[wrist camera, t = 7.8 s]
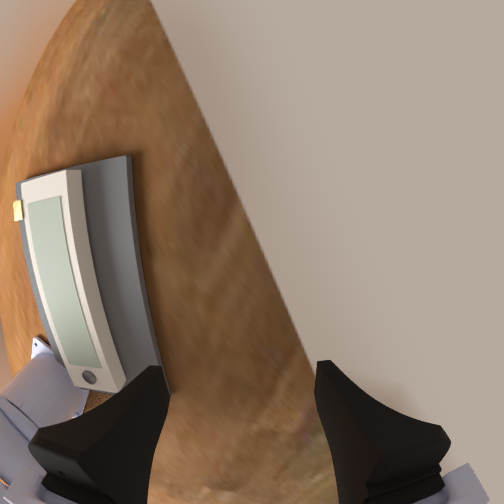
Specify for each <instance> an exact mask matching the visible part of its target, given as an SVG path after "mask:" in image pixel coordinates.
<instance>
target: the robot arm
mask: <svg viewBox="0 0 504 504" xmlns="http://www.w3.org/2000/svg"><path fill="white" fill-rule="evenodd" d="M88 395H89V390H84V389H80V387H77V386H74V384H73V382H72V380H71V377H70V375H69V373H68V371H67V369H66V368H65V367H63V366H62V365H61V364H60V363H59V362H57V361H56V358H55V356H54V353H53V351H52V348H51V347H50V346H49V345H47V344H46V343H45V342H44V341H43V340H41V339H40V338H39V337H37V336H35V337H34V338H33V346H32V356H31V360H30V361H29V362H28V363H27V364H26V365H25V366H24V367H23V368H22V369H21V370H20V371H19V372H18V373H17V375H16V376H15V377H14V378H13V379H12V380H11V381H10V382H9V383H8V384H7V385H6V386H5V387H4V388H3V389H2V390H1V391H0V478H1V479H2V480H3V481H4V482H5V483H6V484H8V485H9V486H10V487H9V486H6V485H4V484H2V483H1V482H0V504H147V498H148V487H149V479H150V473H151V467H152V461H153V456H154V452H155V448H156V446H157V443H158V440H159V437H160V434H161V431H162V428H163V425H164V422H165V419H166V416H167V412H168V407H169V401H170V394H169V391H168V388H167V384H166V381H165V377H164V373H163V370H162V366H155V365H149V366H148V367H147V368H146V369H145V370H143V371H142V372H141V373H140V374H139V375H138V376H137V377H136V378H134V379H133V380H132V381H131V382H130V383H129V384H127V385H126V386H125V387H124V388H123V389H121V390H120V391H119V392H118V393H116V394H115V395H114V396H112V397H111V398H110V399H108V400H107V401H105V402H104V403H102V404H101V405H99V406H97V407H96V408H94V409H92V410H90V411H88V412H86V413H84V414H83V411H84V407H85V404H86V401H87V398H88ZM314 395H315V401H316V406H317V411H318V414H319V417H320V420H321V423H322V426H323V429H324V432H325V435H326V438H327V441H328V444H329V447H330V451H331V455H332V460H333V465H334V471H335V477H336V483H337V490H338V497H339V504H487V503H488V502H489V500H490V499H489V497H488V495H487V493H486V492H485V490H484V488H483V486H482V485H481V483H480V481H479V480H478V478H477V476H476V474H475V473H474V471H473V469H472V468H471V467H470V465H469V463H466V464H465V465H463V466H461V467H459V468H457V469H455V470H453V471H451V472H449V473H447V474H446V475H445V476H443V477H441V475H440V474H439V473H440V472H441V470H442V469H441V467H440V465H439V463H440V461H441V460H442V459H443V457H444V456H445V454H446V453H447V452H448V450H449V448H450V445H451V441H450V439H449V437H448V436H447V434H446V432H445V431H444V430H443V428H442V427H441V426H440V425H436V424H431V423H427V422H423V421H420V420H417V419H414V418H411V417H408V416H406V415H403V414H401V413H399V412H397V411H395V410H393V409H391V408H389V407H387V406H385V405H383V404H382V403H380V402H379V401H377V400H375V399H374V398H372V397H371V396H369V395H368V394H367V393H365V392H364V391H363V390H362V389H361V388H359V387H358V386H357V385H356V384H355V383H354V382H352V381H351V380H350V379H349V378H348V377H347V376H346V375H345V374H344V373H343V372H342V371H341V370H340V369H339V368H338V367H337V366H336V365H335V364H334V363H333V362H332V361H331V360H324V361H317V369H316V380H315V390H314ZM72 417H74V418H73V419H71V418H72Z"/></svg>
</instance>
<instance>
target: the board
mask: <svg viewBox="0 0 504 504" xmlns="http://www.w3.org/2000/svg"><path fill="white" fill-rule="evenodd" d="M63 170H81V177H82V190H83V200H84V209H85V217H86V224H87V231H88V238H89V244H90V249H91V255H92V260H93V265H94V270H95V275H96V279H97V284H98V288H99V292H100V297H101V301H102V304H103V308H104V312H105V316H106V319H107V323H108V326H109V330H110V333H111V336H112V339H113V343H114V346H115V349H116V352H117V355H118V358H119V361H120V363H121V366H122V369H123V372H124V374H125V377H126V381H125V383H124V385H123V387H122V389H123V388H124V387H125V386H126V385H127V384H129V383H130V382H131V381H132V380H133V379H134V378H136V377H137V376H138V375H139V374H140V373H141V372H142V371H143V370H145V369H146V368H147V367H148V366H149V365H155V366H162V370H163V373H164V377H165V381H166V384H167V388H168V391H169V394H170V396H171V392H170V389H169V385H168V382H167V378H166V375H165V371H164V367H163V363H162V359H161V356H160V352H159V347H158V343H157V339H156V335H155V330H154V326H153V321H152V316H151V311H150V306H149V301H148V296H147V290H146V285H145V279H144V273H143V267H142V260H141V253H140V246H139V238H138V230H137V221H136V212H135V201H134V189H133V174H132V156H120V157H115V158H110V159H105V160H100V161H95V162H91V163H86V164H82V165H78V166H73V167H69V168H65V169H61V170H58V171H54V172H50V173H47V174H43V175H40V176H36V177H33V178H29V179H26V180H23V181H20V182H17V183H16V194H17V201H15V202H13V207H14V217H15V221H17V220H19V223H20V231H21V237H22V243H23V249H24V254H25V259H26V264H27V269H28V273H29V278H30V282H31V286H32V290H33V293H34V297H35V301H36V304H37V307H38V311H39V314H40V317H41V320H42V323H43V326H44V329H45V332H46V335H47V338H48V340H49V343H50V346H51V348H52V351H53V353H54V356H55V358H56V361H57V362H59V363H60V364H61V365H62V366H63V367H65V368H66V366H65V364H64V362H63V359H62V357H61V354H60V352H59V349H58V347H57V344H56V342H55V339H54V336H53V334H52V331H51V328H50V325H49V322H48V319H47V316H46V313H45V310H44V307H43V303H42V300H41V296H40V293H39V289H38V285H37V282H36V278H35V273H34V269H33V265H32V260H31V255H30V250H29V245H28V239H27V233H26V227H25V220H24V212H23V203H22V192H21V183H24V182H27V181H30V180H33V179H36V178H40V177H43V176H46V175H50V174H53V173H56V172H60V171H63ZM80 389H84V390H89V391H94V392H100V393H106V394H112V395H115V394H116V393H113V392H106V391H99V390H93V389H88V388H82V387H80Z"/></svg>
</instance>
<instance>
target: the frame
mask: <svg viewBox="0 0 504 504" xmlns="http://www.w3.org/2000/svg"><path fill="white" fill-rule="evenodd" d="M21 192H22V203H23V212H24V220H25V227H26V233H27V239H28V245H29V250H30V255H31V260H32V265H33V269H34V273H35V278H36V282H37V285H38V289H39V293H40V296H41V300H42V303H43V307H44V310H45V313H46V316H47V319H48V322H49V325H50V328H51V331H52V334H53V336H54V339H55V342H56V344H57V347H58V349H59V352H60V354H61V357H62V359H63V362H64V364H65V366H66V369H67V371H68V373H69V375H70V377H71V380H72V382H73V384H74V386H77V387H82V388H88V389H93V390H99V391H106V392H113V393H118V392H119V391H120V390H121V389H122V387H123V385H124V383H125V381H126V377H125V374H124V372H123V369H122V366H121V363H120V361H119V358H118V355H117V352H116V349H115V346H114V343H113V339H112V336H111V333H110V330H109V326H108V323H107V319H106V316H105V312H104V308H103V304H102V301H101V297H100V292H99V288H98V284H97V279H96V275H95V270H94V265H93V260H92V255H91V249H90V244H89V238H88V231H87V224H86V217H85V209H84V200H83V190H82V177H81V170H63V171H60V172H56V173H53V174H50V175H46V176H43V177H40V178H36V179H33V180H30V181H27V182H24V183H21Z"/></svg>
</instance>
